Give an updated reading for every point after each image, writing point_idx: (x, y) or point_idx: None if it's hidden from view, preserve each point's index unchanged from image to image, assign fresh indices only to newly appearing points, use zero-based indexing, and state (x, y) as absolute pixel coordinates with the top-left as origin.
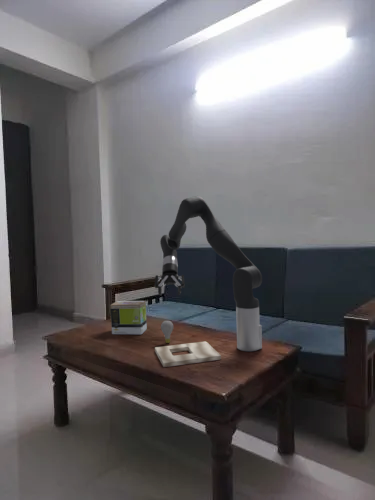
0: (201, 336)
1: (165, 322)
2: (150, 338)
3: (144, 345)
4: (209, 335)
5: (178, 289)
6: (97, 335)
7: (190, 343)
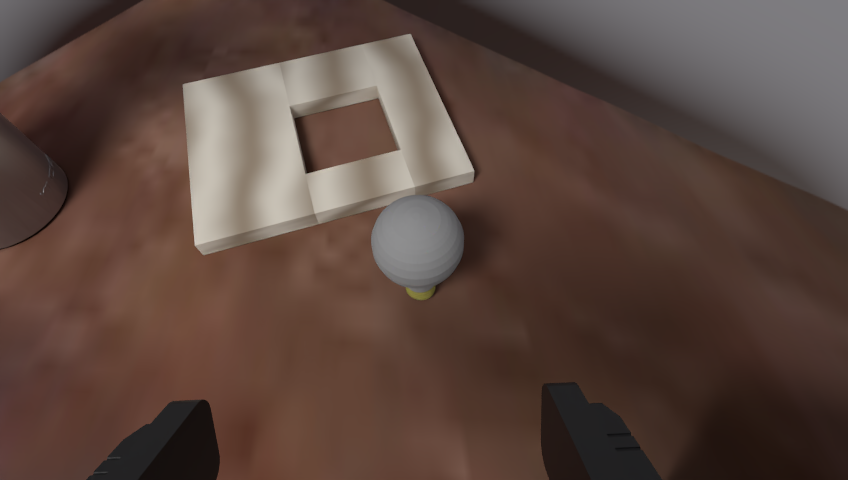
0: None
1: (424, 200)
2: None
3: (552, 262)
4: None
5: (150, 447)
6: None
7: (287, 216)
